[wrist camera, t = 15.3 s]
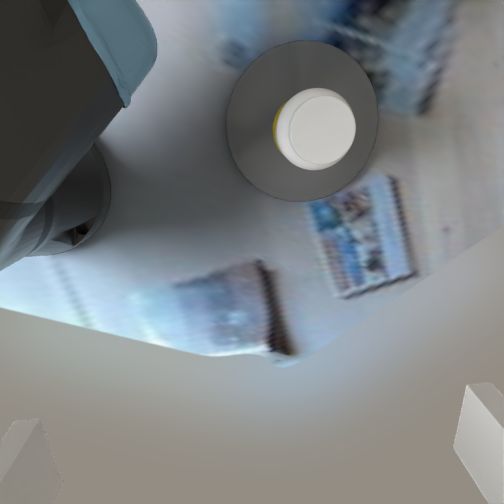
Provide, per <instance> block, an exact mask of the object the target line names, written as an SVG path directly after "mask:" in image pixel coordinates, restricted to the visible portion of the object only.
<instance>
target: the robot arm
mask: <svg viewBox="0 0 504 504" xmlns="http://www.w3.org/2000/svg"><path fill="white" fill-rule="evenodd" d="M156 58H157V39H156V36H155V33H154V30H153V28H152V25H151V23H150V22H149V20H148V18H147V17H146V15H145V13H144V12H143V10H142V9H141V7H140V6H139V4H138V3H137V1H136V0H0V271H1V270H3V269H4V268H6V267H8V266H10V265H11V264H13V263H15V262H16V261H18V260H20V259H22V258H23V257H31V256H46V255H54V254H59V253H62V252H65V251H68V250H70V249H73V248H74V247H76V246H78V245H79V244H81V243H82V242H84V241H85V240H87V239H88V238H89V237H91V236H92V235H93V234H94V233H95V232H96V231H97V230H98V229H99V227H100V226H101V224H102V223H103V221H104V219H105V217H106V215H107V212H108V209H109V204H110V196H111V187H110V179H109V174H108V171H107V168H106V165H105V162H104V160H103V158H102V156H101V154H100V152H99V151H98V149H97V148H96V146H95V145H94V142H95V141H96V140H97V138H98V137H99V136H100V135H101V133H102V132H103V131H104V130H105V128H106V127H107V126H108V125H109V123H110V122H111V121H112V120H113V118H114V117H115V116H116V115H117V114H118V112H119V111H120V110H121V109H122V107H123V108H127V107H128V106H129V105H130V102H131V96H132V95H133V93H134V92H135V91H136V89H137V88H138V87H139V85H140V84H141V82H142V81H143V80H144V78H145V77H146V76H147V74H148V73H149V71H150V70H151V69H152V67H153V65H154V63H155V61H156ZM453 449H454V450H455V452H456V453H457V455H458V457H459V458H460V460H461V461H462V463H463V464H464V466H465V467H466V469H467V471H468V472H469V474H470V475H471V477H472V478H473V480H474V482H475V483H476V485H477V486H478V488H479V489H480V491H481V493H482V494H483V496H484V497H485V499H486V500H487V502H488V503H489V504H504V396H503V395H502V394H501V393H500V392H499V391H498V389H497V388H496V387H495V386H494V385H493V384H492V383H491V382H490V383H479V384H478V383H477V384H467V385H466V390H465V395H464V399H463V404H462V409H461V413H460V418H459V422H458V427H457V432H456V437H455V441H454V446H453ZM62 482H63V478H62V476H61V473H60V471H59V468H58V465H57V462H56V460H55V457H54V454H53V452H52V449H51V446H50V444H49V441H48V438H47V436H46V433H45V430H44V428H43V425H42V422H41V420H40V419H27V420H15V421H14V422H13V423H12V425H11V426H10V428H9V429H8V431H7V432H6V434H5V435H4V436H3V438H2V439H1V441H0V504H53V502H54V500H55V498H56V496H57V494H58V491H59V489H60V487H61V485H62Z"/></svg>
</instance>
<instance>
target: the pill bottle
mask: <svg viewBox="0 0 504 504" xmlns="http://www.w3.org/2000/svg"><path fill="white" fill-rule="evenodd" d="M355 132H356V123H355V118H354V115H353V113H352V110H351V108H350V106H349V104H348V103H347V102H346V100H345V99H344V98H343V97H341V96H340V95H339V94H337V93H336V92H334V91H332V90H329V89H325V88H311V89H307V90H304V91H301V92H299V93H298V94H296V95H295V96H293V97H292V98H290V99H289V100H288V101H286V102H285V103H284V104H283V105H282V106H281V107H280V109H279V110H278V112H277V113H276V115H275V118H274V121H273V127H272V134H273V139H274V142H275V145H276V147H277V148H278V150H279V151H280V152H281V153H282V154H283V155H284V156H285V157H286V158H287V159H288V160H289V161H290V162H291V163H292V164H294V165H296V166H297V167H300V168H303V169H306V170H321V169H325V168H328V167H330V166H332V165H334V164H336V163H337V162H338V161H340V160H341V159H342V158H343V157H344V155H345V154H346V153H347V151H348V150H349V148H350V147H351V145H352V143H353V141H354V137H355Z"/></svg>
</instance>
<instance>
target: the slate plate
mask: <svg viewBox="0 0 504 504" xmlns="http://www.w3.org/2000/svg"><path fill="white" fill-rule="evenodd" d="M311 88H325V89H329V90H332V91H334V92H336V93H337V94H339V95H340V96H341V97H343V98H344V99H345V100H346V102H347V103H348V104H349V106H350V108H351V110H352V113H353V115H354V118H355V123H356V132H355V137H354V141H353V143H352V145H351V147H350V148H349V150H348V151H347V153H346V154H345V155H344V157H343V158H342V159H341V160H340V161H338V162H337V163H336V164H334V165H332V166H330V167H328V168H325V169H321V170H306V169H303V168H300V167H297V166H296V165H294V164H292V163H291V162H290V161H289V160H288V159H287V158H286V157H285V156H284V155H283V154H282V153H281V152H280V151H279V150H278V148H277V147H276V145H275V142H274V139H273V134H272V127H273V121H274V118H275V115H276V113H277V112H278V110H279V109H280V107H281V106H282V105H283V104H284V103H285V102H286V101H288V100H289V99H290V98H292V97H293V96H295V95H296V94H298V93H299V92H301V91H304V90H307V89H311ZM377 129H378V106H377V100H376V96H375V92H374V89H373V87H372V84H371V82H370V80H369V78H368V77H367V75H366V73H365V72H364V70H363V69H362V68H361V67H360V65H359V64H358V63H357V62H356V61H355V60H354V59H353V58H352V57H351V56H349V55H348V54H347V53H345V52H344V51H342V50H340V49H338V48H336V47H334V46H332V45H329V44H326V43H323V42H318V41H308V40H301V41H294V42H288V43H285V44H282V45H279V46H277V47H274V48H272V49H270V50H268V51H267V52H265V53H264V54H262V55H261V56H259V57H258V58H257V59H256V60H255V61H254V62H252V63H251V65H250V66H249V67H248V68H247V69H246V70H245V71H244V73H243V74H242V76H241V77H240V79H239V80H238V82H237V84H236V86H235V88H234V90H233V92H232V95H231V98H230V101H229V105H228V110H227V118H226V132H227V139H228V144H229V148H230V151H231V154H232V156H233V159H234V161H235V163H236V165H237V166H238V168H239V170H240V171H241V172H242V174H243V175H244V176H245V177H246V178H247V179H248V180H249V182H250V183H251V184H253V185H254V186H255V187H257V188H258V189H259V190H261V191H262V192H264V193H266V194H268V195H270V196H272V197H275V198H278V199H282V200H286V201H293V202H304V201H312V200H316V199H320V198H323V197H326V196H328V195H331V194H332V193H334V192H336V191H338V190H340V189H341V188H342V187H344V186H345V185H347V184H348V183H349V182H350V181H351V180H352V179H353V178H354V177H355V176H356V175H357V174H358V173H359V171H360V170H361V169H362V167H363V166H364V164H365V163H366V161H367V159H368V157H369V155H370V153H371V151H372V149H373V146H374V143H375V139H376V135H377Z"/></svg>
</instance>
